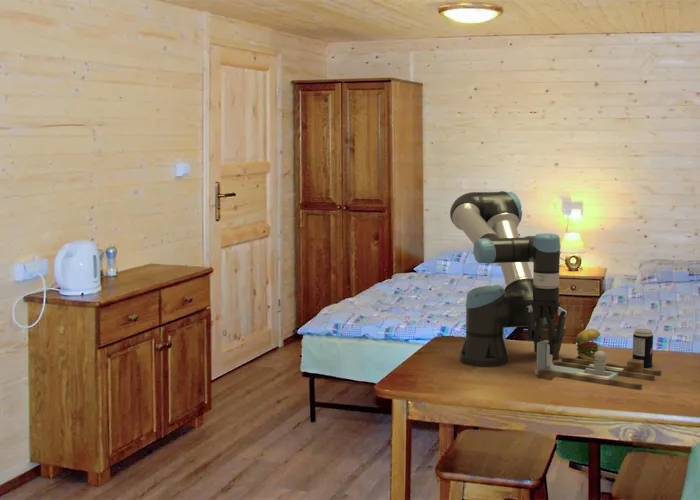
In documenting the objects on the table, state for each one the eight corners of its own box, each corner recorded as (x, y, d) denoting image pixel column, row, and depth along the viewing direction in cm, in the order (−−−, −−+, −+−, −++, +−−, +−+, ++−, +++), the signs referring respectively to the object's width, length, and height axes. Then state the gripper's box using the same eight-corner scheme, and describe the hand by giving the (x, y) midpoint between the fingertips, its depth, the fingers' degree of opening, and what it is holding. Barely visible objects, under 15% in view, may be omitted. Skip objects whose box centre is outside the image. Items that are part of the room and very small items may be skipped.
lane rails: (538, 377, 264) (538, 367, 264) (562, 364, 279) (563, 354, 279) (640, 394, 247) (640, 382, 247) (661, 379, 262) (661, 368, 261)
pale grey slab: (534, 374, 267) (535, 344, 266) (547, 368, 274) (547, 338, 273) (607, 386, 254) (608, 354, 253) (618, 378, 261) (619, 348, 260)
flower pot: (535, 351, 297) (536, 321, 295) (570, 355, 291) (570, 324, 290) (524, 358, 287) (524, 327, 286) (559, 363, 281) (559, 331, 280)
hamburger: (598, 365, 277) (599, 327, 276) (574, 363, 280) (574, 325, 278) (601, 360, 284) (601, 322, 283) (577, 358, 287) (578, 320, 285)
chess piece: (612, 381, 259) (613, 351, 258) (600, 385, 256) (601, 354, 255) (597, 378, 264) (598, 347, 262) (585, 381, 260) (586, 350, 259)
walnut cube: (626, 375, 262) (626, 361, 261) (629, 372, 265) (629, 358, 265) (640, 376, 260) (641, 363, 259) (643, 373, 263) (643, 360, 263)
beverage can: (653, 372, 269) (654, 333, 267) (633, 371, 270) (634, 332, 268) (650, 367, 274) (652, 328, 273) (631, 367, 275) (632, 328, 274)
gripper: (516, 285, 268) (515, 363, 271) (565, 290, 259) (563, 370, 262) (527, 282, 274) (526, 358, 277) (575, 286, 265) (574, 365, 268)
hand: (544, 364), depth 270 cm, fingers open, 2 cm apart
